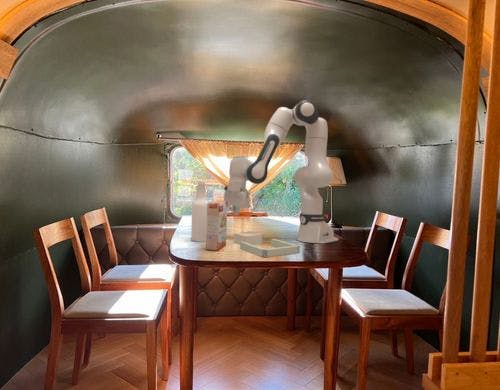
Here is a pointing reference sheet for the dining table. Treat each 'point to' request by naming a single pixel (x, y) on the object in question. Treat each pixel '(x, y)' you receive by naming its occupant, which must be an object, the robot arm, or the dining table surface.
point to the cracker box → (216, 225)
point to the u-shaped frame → (282, 250)
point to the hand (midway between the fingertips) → (235, 214)
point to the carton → (248, 238)
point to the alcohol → (199, 214)
